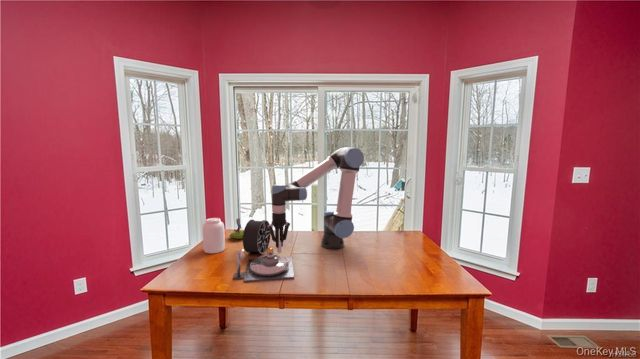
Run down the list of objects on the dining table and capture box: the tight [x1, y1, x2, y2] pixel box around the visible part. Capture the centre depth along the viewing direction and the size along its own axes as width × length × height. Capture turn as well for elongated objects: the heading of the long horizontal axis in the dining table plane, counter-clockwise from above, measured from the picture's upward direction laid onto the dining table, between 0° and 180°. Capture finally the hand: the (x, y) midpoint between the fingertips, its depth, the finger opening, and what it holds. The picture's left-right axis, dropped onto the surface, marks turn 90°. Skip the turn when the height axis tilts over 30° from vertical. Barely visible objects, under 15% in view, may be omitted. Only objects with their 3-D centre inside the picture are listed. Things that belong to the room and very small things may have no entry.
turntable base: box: [243, 256, 295, 283], centre depth 142 cm, size 24×24×1 cm
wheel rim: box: [242, 219, 271, 255], centre depth 164 cm, size 20×9×20 cm, turn 168°
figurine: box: [228, 217, 244, 240], centre depth 188 cm, size 14×13×15 cm
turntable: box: [250, 246, 289, 276], centre depth 141 cm, size 20×20×7 cm
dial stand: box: [232, 249, 246, 280], centre depth 133 cm, size 5×5×14 cm
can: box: [202, 217, 226, 254], centre depth 166 cm, size 12×12×20 cm
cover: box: [262, 252, 279, 266], centre depth 141 cm, size 8×8×5 cm
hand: (279, 252), depth 152 cm, fingers closed
